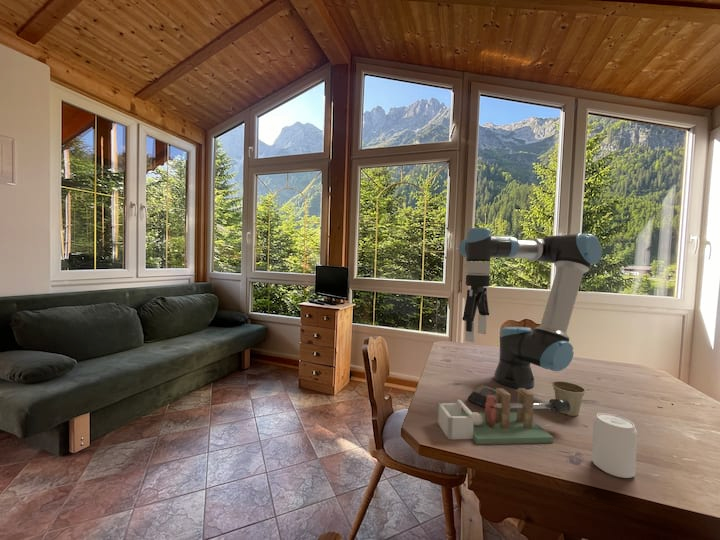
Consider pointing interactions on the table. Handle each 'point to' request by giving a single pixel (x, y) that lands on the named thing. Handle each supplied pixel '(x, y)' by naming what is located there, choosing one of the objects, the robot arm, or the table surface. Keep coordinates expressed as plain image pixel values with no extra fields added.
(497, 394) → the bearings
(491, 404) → the rod
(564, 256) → the robot arm
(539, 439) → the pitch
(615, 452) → the beverage can
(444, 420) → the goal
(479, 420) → the ball
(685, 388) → the table surface
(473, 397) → the rock
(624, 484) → the table surface
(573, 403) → the flower pot
